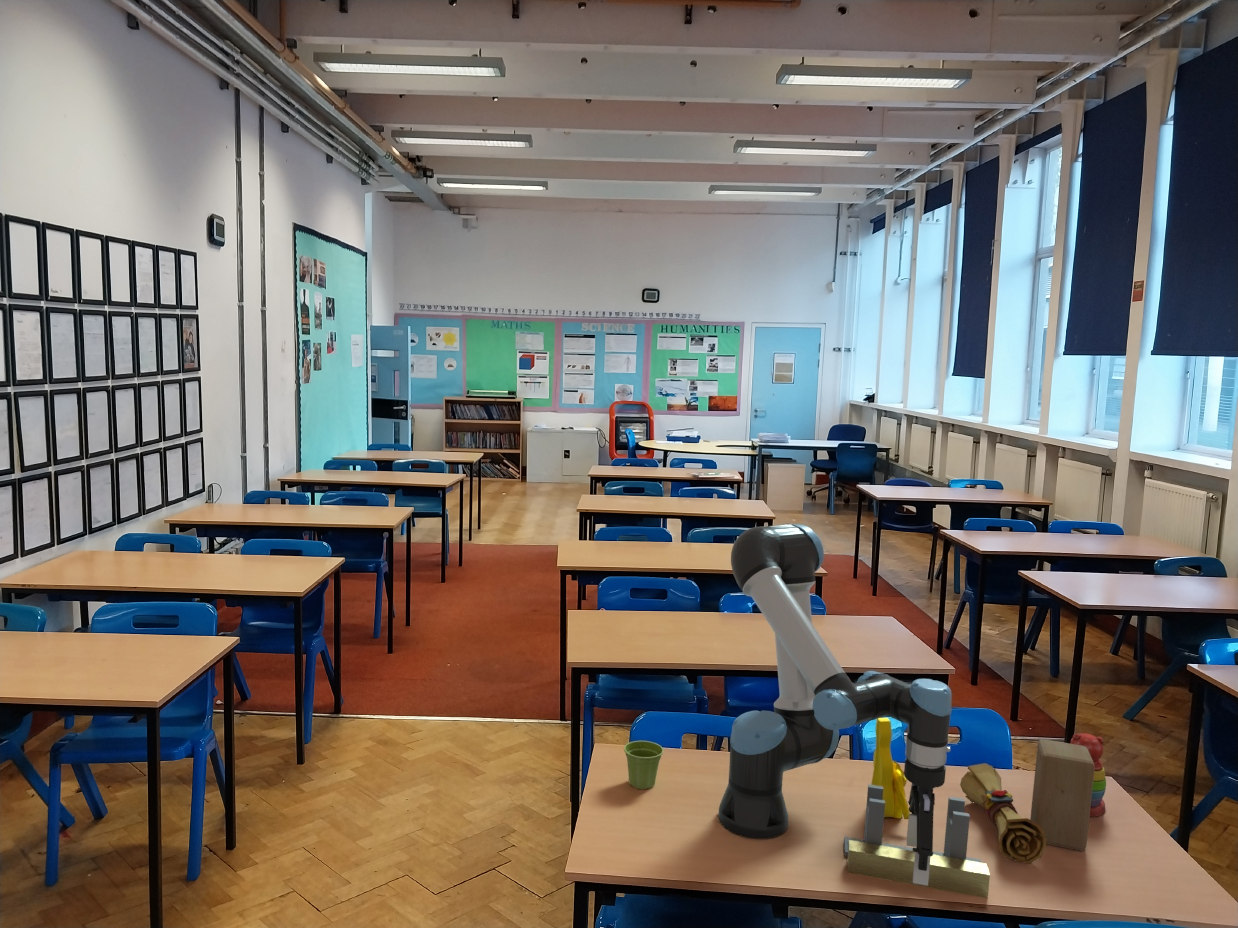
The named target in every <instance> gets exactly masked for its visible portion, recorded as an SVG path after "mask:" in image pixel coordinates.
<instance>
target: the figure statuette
mask: <svg viewBox="0 0 1238 928" xmlns="http://www.w3.org/2000/svg"><path fill="white" fill-rule="evenodd" d="M875 720H876V722H875V749H874V752H873V759H872V760H873V773H872V778H871V779H872V780H871V783H870V785H876V786H882V787H883V799H882V800H884V801H885V811H884V818H894V819H902V818H903V820H908V819H909V814H911V812H909V803H908V801H907V799H906V790H905V787H906V784H907V781H908V780H907V779H906V778H905V776H904V769H902V766H900V764H899V763H898V762H897V760H896V761H895V760H893V758H892V751H891V742H892V736H893V731H892V730H893V729H892V722H891V720H890V719H889V718H888V717H882V718H878V719H875Z"/></svg>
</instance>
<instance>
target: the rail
mask: <svg viewBox="0 0 1238 928" xmlns="http://www.w3.org/2000/svg"><path fill="white" fill-rule="evenodd" d="M914 858H915V852H913V851H910V850H905V849H899V848H893V847H887V846H882V845H876V844H870V843H864V842H859V841H853V840H849V848H848V857H847V861H846V862H847V873H848V874H853V875H858V876H859V875H860V876H865V877H869V878H875V879H880V880H886V881H892V882H896V883H897V882H898V883H902V884H908V885H912V886H913V885H914V886H918V887H925V888H929V889H935V890H940V891H946V892H950V893H951V892H952V893H956V894H963V895H967V896H974V897H978V898H985V899H988V898H989V891H990V890H989V888H990V878H991V874H990V870H989V867H988V865H987V863H984V862H981V863H979V862H974V861H968V860H962V859H956V858H951V857H945V856H939V855H933V856H931V857H930V868H929V880H928V886H927V885H921V884H915V883H913V870H914Z"/></svg>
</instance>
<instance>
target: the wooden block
mask: <svg viewBox="0 0 1238 928" xmlns="http://www.w3.org/2000/svg"><path fill="white" fill-rule="evenodd" d="M1036 748H1037V749H1036V759H1035V768H1034V779H1033V789H1032V798H1031V799H1032V800H1031V809H1030V810H1031V811H1030V818H1029V819H1030V820H1032V821H1033V822H1035V823H1037V824H1039V825H1040V827H1041V828H1042V830H1043V831H1044V833H1045V834H1043V835H1044V836H1045V837H1046V845H1051V846H1056V847H1061V848H1066V849H1071V850H1075V851H1080V852H1081V851H1082V852H1083V851H1085V850H1086V848H1087V842H1088V836H1089V835H1088V834H1089V824H1090V807H1091V798H1092V788H1093V779H1094V769H1095V765H1094V762H1093V760H1092V758H1091V756H1090V753H1089V751H1088V749H1087V747H1085V746H1081V745H1075V744H1070V743H1068V742H1063V741H1057V740H1051V739H1045V738H1041V739H1039V740H1038V741H1037V747H1036Z"/></svg>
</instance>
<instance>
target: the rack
mask: <svg viewBox="0 0 1238 928" xmlns="http://www.w3.org/2000/svg"><path fill="white" fill-rule="evenodd" d="M882 799H883V787H882V786H876V785H871V784H867V795H866V806H865V817H864V819H865V820H864V821H865V822H864V833H863V839H860V838H853V837H848V836H844V839H843V847H844V848H843V849H844V857H846V858H848V848H849V840H853V841H859V842H864V843H870V844H876V845H882V846H887V847H893V848H899V849H905V850H910V851H913V848H914V847H910V846H907V847H906V846H903V845H902V846H901V845H897V844H891V843H890V844H889V843H884V842H883V836H884V835H883V834H884V833H883V832H884V822H885V817H884V811H885V801H884V800H882ZM947 800H948V802H947V812H946V823H945V824H946V825H945V834H944V844H943V845H944V846H943V852H938V851H933V855H939V856H945V857H951V858H956V859H962V860H968V861H974V862H979V863H982V860H981V859H980V858H973V857H968V856H967V851H968V841H969V840H968V838H969V831H970V821H971V820H970V819H971V816H970V813H968V812H965V806H966V800H965V798H963V797H962V798H960V797H954V796H948V799H947Z"/></svg>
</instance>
